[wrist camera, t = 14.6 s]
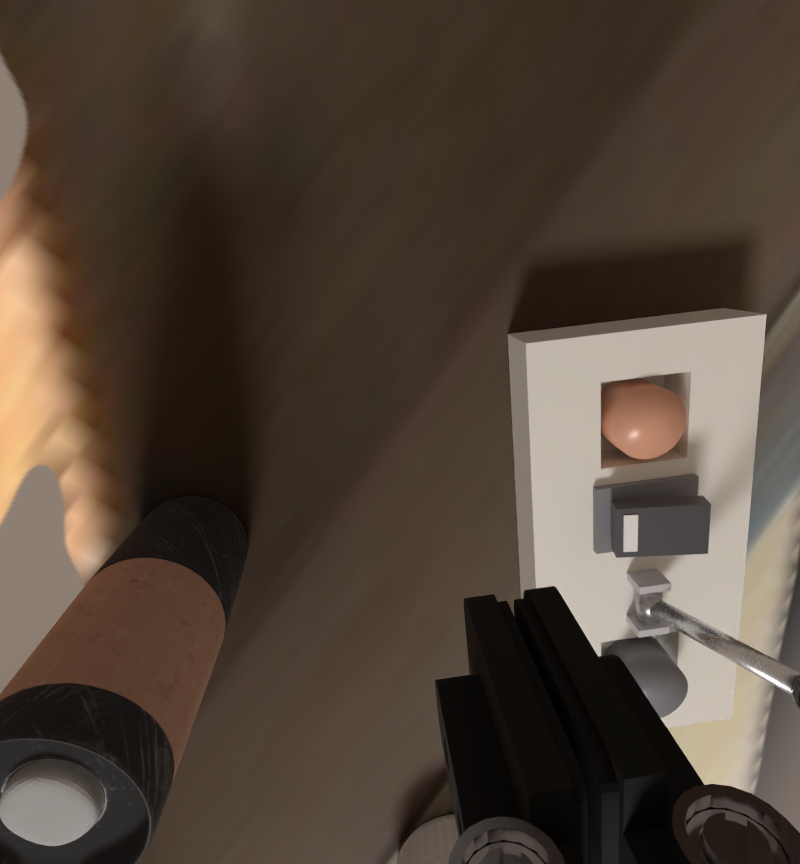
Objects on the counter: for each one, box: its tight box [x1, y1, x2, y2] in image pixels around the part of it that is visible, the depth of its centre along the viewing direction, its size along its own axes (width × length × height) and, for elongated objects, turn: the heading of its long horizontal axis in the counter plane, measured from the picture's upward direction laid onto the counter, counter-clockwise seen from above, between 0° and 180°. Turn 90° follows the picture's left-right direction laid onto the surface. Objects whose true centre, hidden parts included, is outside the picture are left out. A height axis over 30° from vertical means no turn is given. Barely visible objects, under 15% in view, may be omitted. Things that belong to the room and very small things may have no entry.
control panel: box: [508, 308, 767, 728], centre depth 38 cm, size 29×14×6 cm, turn 6°
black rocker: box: [611, 495, 711, 558], centre depth 34 cm, size 3×5×1 cm, turn 96°
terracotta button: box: [601, 378, 686, 459], centre depth 35 cm, size 4×4×3 cm
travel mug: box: [0, 496, 248, 864], centre depth 29 cm, size 8×8×20 cm
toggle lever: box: [635, 590, 800, 710], centre depth 33 cm, size 2×2×12 cm
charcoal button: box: [604, 636, 688, 718], centre depth 39 cm, size 4×4×3 cm
